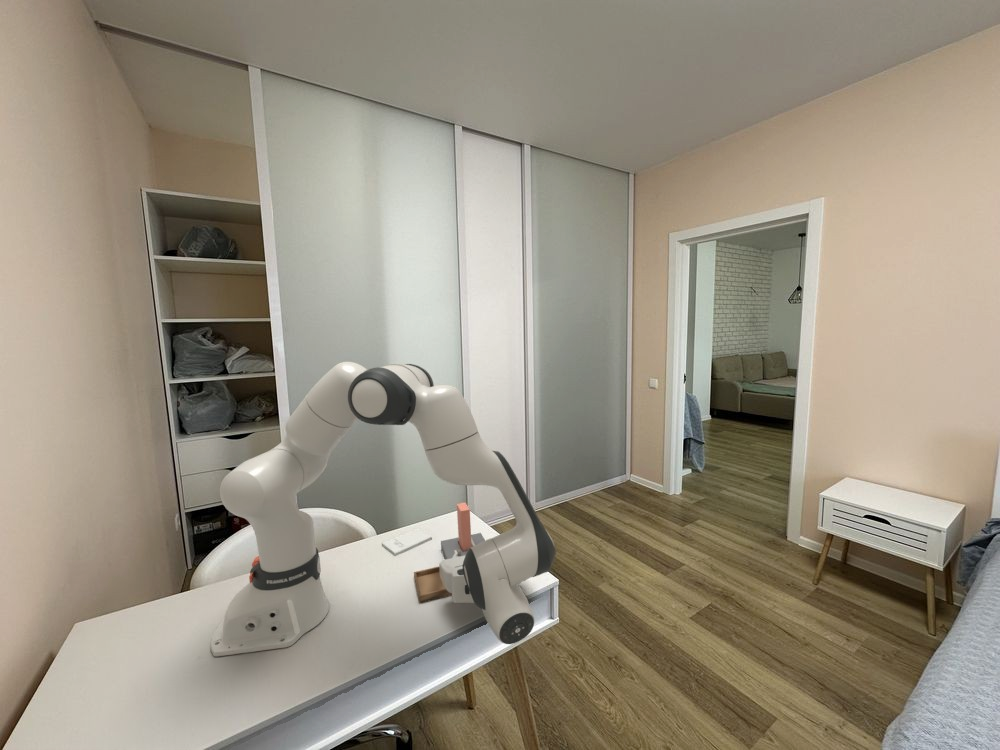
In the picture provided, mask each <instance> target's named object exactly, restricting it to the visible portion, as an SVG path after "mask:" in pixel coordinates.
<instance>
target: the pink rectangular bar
mask: <svg viewBox="0 0 1000 750" xmlns="http://www.w3.org/2000/svg"><path fill="white" fill-rule="evenodd" d="M456 513H457V515H456V517H457V529H458V530H457V533H458V534H457V535H458V537H459V546H460V548H461V550H462V552H463V551H468V550H469V548H471V547H472V545H471V535H472V531H471V530H472V529H471V527H472V525H471V509H470V508H469V506H468V505H467V503H466V502H460V503H456Z"/></svg>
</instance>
